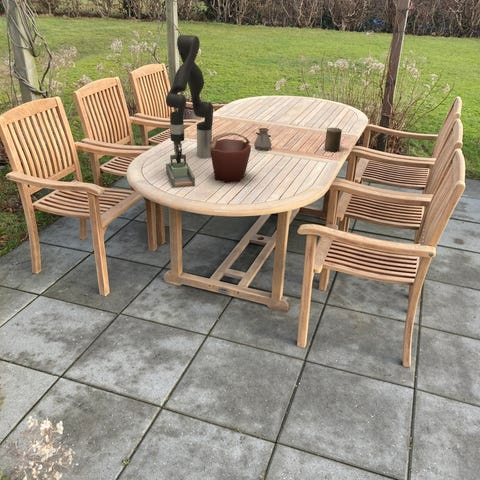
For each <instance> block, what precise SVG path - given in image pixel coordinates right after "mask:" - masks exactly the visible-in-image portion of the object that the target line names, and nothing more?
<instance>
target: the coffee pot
mask: <svg viewBox="0 0 480 480" xmlns="http://www.w3.org/2000/svg"><path fill="white" fill-rule="evenodd" d="M257 130H258V131H259V132H257V131H256V132H254V133H253V135H255V134H256V138H255V141H254V147H255V148H256V149H257V150H258V151H268V150H269V149H270V148H272V146H273V144H272V141H271V139H270V136H269V134H268V132H269V131H270V130H269V129H268V128H267V127H260V128H258V129H257Z"/></svg>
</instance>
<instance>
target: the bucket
mask: <svg viewBox="0 0 480 480" xmlns="http://www.w3.org/2000/svg"><path fill="white" fill-rule="evenodd" d="M229 136H238V137H240V138H243V139H244V140H245V141H243V140H241V139H231V138H230V139H229V138H224V137H229ZM221 138H222V139H221ZM250 143H251V141H250V139H248V137H246V136H244V135H241V134H240V133H237V132H226V133H225V132H224V133H221V134H218V135H215V136H212V142H210V146H209V148H210V152H211V157H210V158H211V159H210V160H211V163H212V168H213V174H214V179H215V180H216V181H218V182H222V183H225V184H228V183H229V184H231V182H232V183H239V182H241V181H242V180H243V179H245V176H246V170H247V168H248V163H249V160H250V156H251V155H250V154H251V149H252V148H251V147H252V146H251V144H250Z"/></svg>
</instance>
